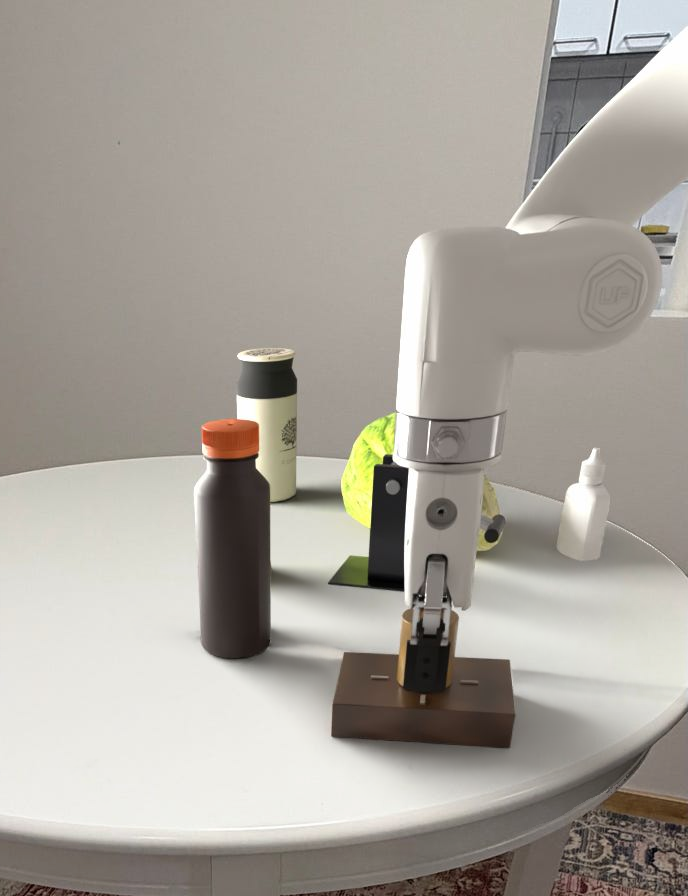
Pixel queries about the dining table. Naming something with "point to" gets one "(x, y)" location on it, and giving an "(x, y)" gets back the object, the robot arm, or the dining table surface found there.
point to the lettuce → (371, 451)
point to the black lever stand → (382, 534)
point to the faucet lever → (489, 525)
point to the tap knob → (406, 634)
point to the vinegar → (233, 542)
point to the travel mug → (271, 414)
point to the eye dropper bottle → (585, 512)
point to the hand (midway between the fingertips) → (425, 665)
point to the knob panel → (424, 703)
